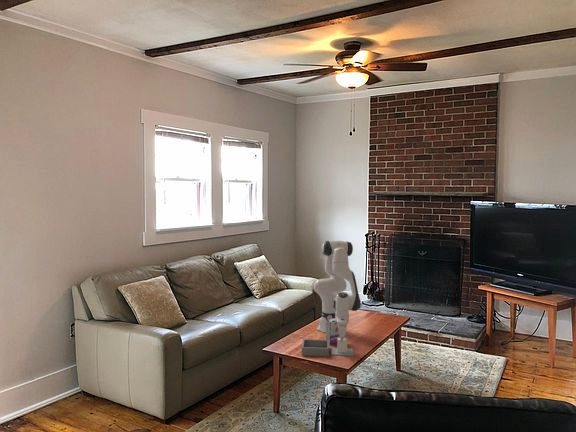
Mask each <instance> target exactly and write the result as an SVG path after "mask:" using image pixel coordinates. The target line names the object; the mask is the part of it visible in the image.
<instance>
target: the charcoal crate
mask: <svg viewBox="0 0 576 432" xmlns="http://www.w3.org/2000/svg"><path fill="white" fill-rule="evenodd" d="M329 349H330V345H329V340H326V339H311V338H309V339H308V338H306V339H305V338H303V340H302V344H301V356H309V357H312V356H313V357H330V353H329V351H330V350H329Z"/></svg>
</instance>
